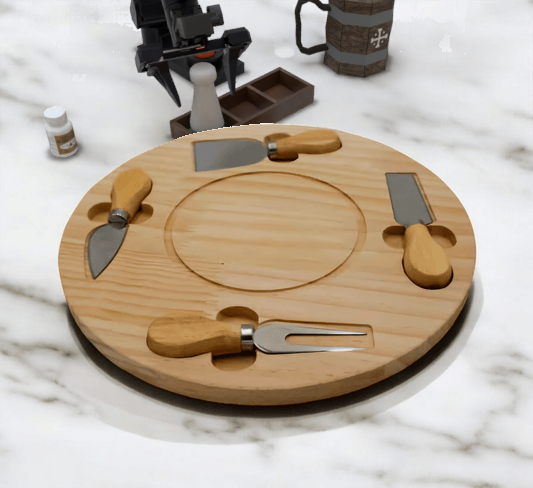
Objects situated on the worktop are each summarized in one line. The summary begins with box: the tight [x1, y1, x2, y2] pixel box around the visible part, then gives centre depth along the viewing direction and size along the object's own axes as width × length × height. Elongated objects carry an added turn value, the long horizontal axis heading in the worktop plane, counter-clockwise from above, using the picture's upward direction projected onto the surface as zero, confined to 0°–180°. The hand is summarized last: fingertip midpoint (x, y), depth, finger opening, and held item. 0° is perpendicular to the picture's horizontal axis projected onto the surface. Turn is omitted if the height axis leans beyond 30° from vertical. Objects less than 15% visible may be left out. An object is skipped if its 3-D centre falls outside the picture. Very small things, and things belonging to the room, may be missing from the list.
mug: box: [294, 0, 396, 79], centre depth 126 cm, size 20×14×15 cm
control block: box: [168, 50, 245, 87], centre depth 127 cm, size 12×10×4 cm
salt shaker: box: [190, 62, 224, 133], centre depth 108 cm, size 6×6×13 cm
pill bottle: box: [43, 105, 79, 158], centre depth 108 cm, size 4×4×8 cm
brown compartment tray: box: [169, 66, 316, 140], centre depth 116 cm, size 9×26×4 cm, turn 133°
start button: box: [195, 47, 215, 58], centre depth 126 cm, size 4×4×2 cm
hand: (207, 101), depth 107 cm, fingers open, 9 cm apart
